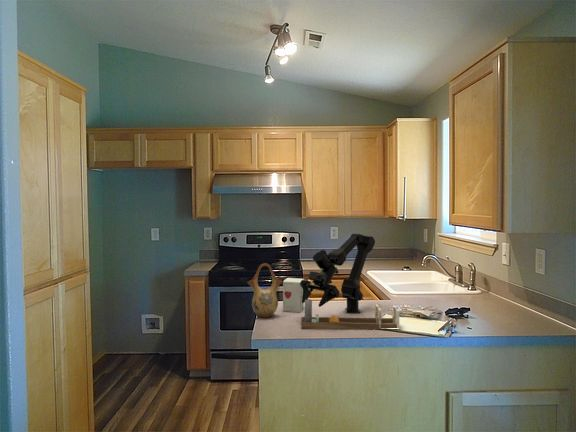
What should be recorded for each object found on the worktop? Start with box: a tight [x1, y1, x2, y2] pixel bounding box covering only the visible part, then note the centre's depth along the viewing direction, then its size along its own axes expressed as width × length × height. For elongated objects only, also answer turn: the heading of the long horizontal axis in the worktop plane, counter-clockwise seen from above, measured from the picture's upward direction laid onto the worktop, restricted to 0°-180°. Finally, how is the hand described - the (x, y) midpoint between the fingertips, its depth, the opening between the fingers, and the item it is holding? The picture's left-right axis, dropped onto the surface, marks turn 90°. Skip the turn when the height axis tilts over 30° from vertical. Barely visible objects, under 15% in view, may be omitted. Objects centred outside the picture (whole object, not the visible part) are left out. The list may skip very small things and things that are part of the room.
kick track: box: [300, 303, 401, 331], centre depth 166 cm, size 8×41×8 cm, turn 88°
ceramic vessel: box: [246, 262, 283, 318], centre depth 180 cm, size 16×9×25 cm, turn 95°
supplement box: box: [282, 277, 305, 313], centre depth 191 cm, size 9×9×15 cm
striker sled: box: [304, 298, 320, 322], centre depth 166 cm, size 6×6×11 cm
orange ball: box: [329, 315, 339, 323], centre depth 166 cm, size 4×4×4 cm
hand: (310, 304), depth 166 cm, fingers open, 9 cm apart
